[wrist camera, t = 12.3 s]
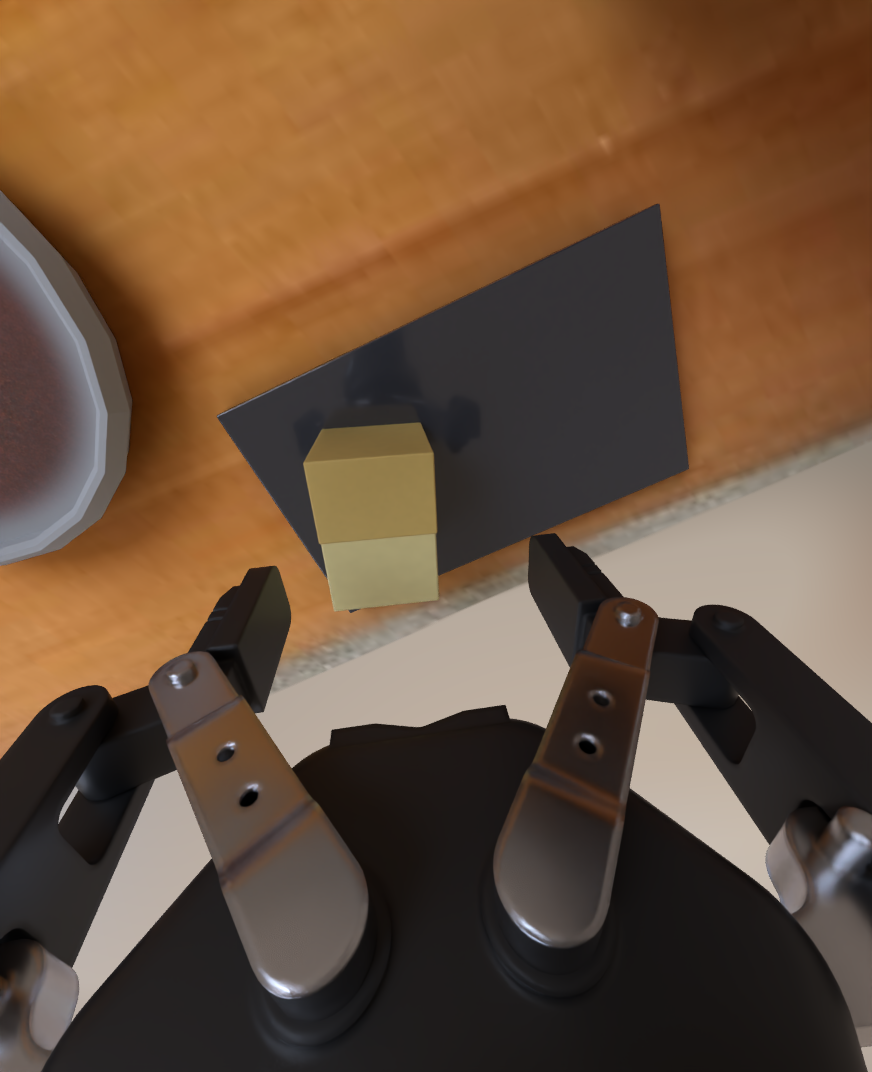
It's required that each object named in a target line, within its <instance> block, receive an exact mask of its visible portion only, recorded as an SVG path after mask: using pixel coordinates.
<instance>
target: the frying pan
mask: <svg viewBox="0 0 872 1072" xmlns="http://www.w3.org/2000/svg"><path fill="white" fill-rule="evenodd" d="M131 412H132V397H131V394H130V390H129V386H128V383H127V379H126V375H125V372H124V368H123V364H122V360H121V357H120V353H119V349H118V346H117V342H116V339H115V337H114V336H113V334H112V332H111V330H110V329H109V327H108V325H107V323H106V322H105V320H104V318H103V317H102V315H101V313H100V311H99V310H98V308H97V306H96V305H95V303H94V301H93V299H92V298H91V296H90V294H89V293H88V291H87V289H86V287H85V286H84V284H83V282H82V281H81V279H80V277H79V275H78V274H77V272H76V271H75V270H74V269H73V268H72V267H71V266H70V265H69V263H68V262H67V261H66V260H65V259H64V258H63V257H62V256H61V255H60V254H59V253H58V252H57V250H56V249H55V248H54V247H53V246H52V245H51V244H50V243H49V242H48V241H47V240H46V239H45V238H44V236H43V235H42V234H41V233H40V232H39V231H38V230H37V229H36V228H35V227H34V226H33V225H32V224H31V222H30V221H29V220H28V219H27V218H26V217H25V216H24V215H23V214H22V213H21V212H20V211H19V210H18V208H17V207H16V206H15V205H14V204H13V203H12V202H11V201H10V200H9V199H8V198H7V197H6V196H5V195H4V194H3V193H2V192H1V191H0V565H7V564H11V563H14V562H18V561H21V560H25V559H28V558H31V557H35V556H38V555H42V554H45V553H49V552H52V551H56V550H59V549H61V548H63V547H64V546H65V545H67V544H68V543H69V542H70V541H72V540H73V539H74V538H76V537H77V536H78V535H80V534H81V533H82V532H84V531H85V530H86V529H88V528H89V527H90V526H91V525H93V524H94V523H95V522H97V521H98V520H99V519H101V518H102V516H103V514H104V512H105V510H106V508H107V507H108V505H109V503H110V501H111V499H112V497H113V495H114V493H115V491H116V490H117V488H118V486H119V484H120V482H121V480H122V478H123V476H124V475H125V473H126V462H127V454H128V452H129V441H130V427H131Z"/></svg>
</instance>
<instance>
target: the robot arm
mask: <svg viewBox="0 0 872 1072" xmlns="http://www.w3.org/2000/svg"><path fill="white" fill-rule="evenodd" d="M528 583H529V588H530V592H531V595H532V597H533V599H534V601H535V602H536V604H537V606H538V608H539V610H540V612H541V614H542V616H543V617H544V619H545V621H546V623H547V625H548V627H549V629H550V631H551V633H552V635H553V636H554V638H555V640H556V642H557V644H558V646H559V648H560V649H561V651H562V653H563V655H564V657H565V659H566V661H567V663H568V665H569V667H570V670H569V672H568V675H567V677H566V680H565V682H564V685H563V687H562V690H561V692H560V695H559V698H558V700H557V702H556V705H555V708H554V710H553V713H552V715H551V718H550V720H549V723H548V725H547V728H546V729H545V728H543V727H541V726H538V725H536V724H533V723H530V722H527V721H522V720H517V719H510V718H509V715H508V712H507V709H506V706H505V705H501V706H494V707H487V708H480V709H473V710H466V711H462V712H460V713H457V714H454V715H452V716H449V717H447V718H444V719H442V720H439V721H436V722H434V723H431V724H429V725H426V726H423V727H407V726H396V725H385V724H369V725H362V726H355V727H348V728H341V729H334V730H332V731H331V739H330V745H329V746H326V747H324V748H322V749H320V750H318V751H316V752H314V753H312V754H311V755H309V756H308V757H306V758H305V759H303V760H302V761H300V762H299V763H298V764H297V765H295V766H294V767H293V768H291V767H290V765H289V764H288V762H287V761H286V760H285V758H284V756H283V755H282V754H281V752H280V751H279V749H278V747H277V746H276V745H275V743H274V742H273V740H272V739H271V737H270V736H269V734H268V733H267V731H266V730H265V728H264V727H263V725H262V724H261V722H260V721H259V719H258V718H257V716H256V715H255V713H260V712H264V709H265V706H266V703H267V699H268V696H269V693H270V690H271V687H272V683H273V680H274V677H275V674H276V670H277V667H278V664H279V661H280V657H281V654H282V651H283V647H284V644H285V641H286V638H287V634H288V631H289V628H290V624H291V610H290V605H289V602H288V598H287V595H286V592H285V588H284V585H283V582H282V579H281V575H280V572H279V570H278V568H277V567H276V566H267V567H259V568H251V569H249V570H248V572H247V574H246V575H245V577H244V579H243V581H242V583H241V585H240V586H234V587H232V588H231V589H230V590H229V591H227V592H226V593H225V594H224V595H223V596H222V597H220V599H219V601H218V602H217V604H216V606H215V607H214V609H213V612H211V614H210V616H209V618H208V622H206V623H205V624H204V626H203V628H202V629H201V631H200V633H199V635H198V636H197V638H196V640H195V641H194V643H193V645H192V647H191V648H190V650H189V652H188V653H186V654H183V655H180V656H178V657H176V658H174V659H172V660H170V661H168V662H167V663H165V664H164V665H163V666H162V667H160V668H159V669H158V670H157V671H156V672H155V673H154V675H153V676H152V678H151V679H150V682H149V685H148V686H146V687H143V688H140V689H137V690H134V691H131V692H128V693H126V694H123V695H120V696H117V697H114V698H112V697H111V695H110V694H109V692H108V691H107V690H106V688H104V687H102V686H98V685H92V686H86V687H81V688H78V689H75V690H73V691H70V692H68V693H66V694H64V695H62V696H60V697H59V698H57V699H55V700H54V701H52V702H51V703H49V704H48V705H47V706H46V707H44V708H43V709H42V710H41V711H40V712H39V713H38V714H37V715H36V716H35V717H34V719H33V720H32V721H31V722H30V724H29V725H28V726H27V727H26V729H25V730H24V731H23V732H22V733H21V735H20V736H19V737H18V738H17V740H16V741H15V742H14V743H13V745H12V746H11V747H10V748H9V750H8V751H7V752H6V753H5V754H4V756H3V757H2V758H1V759H0V1072H868V1071H867V1068H866V1065H865V1061H864V1058H863V1054H862V1051H861V1047H867V1046H872V723H871V722H870V721H869V720H868V719H866V718H865V717H864V716H863V715H862V714H861V713H860V712H859V711H857V710H856V709H855V708H854V707H853V706H852V705H851V704H849V703H848V702H847V701H846V700H845V699H844V698H843V697H842V696H841V695H839V694H838V693H837V692H836V691H835V690H834V689H832V687H830V686H829V685H828V684H827V683H826V682H825V681H823V679H821V678H820V677H819V676H818V675H817V674H816V673H815V672H813V671H812V670H811V669H810V668H809V667H808V666H807V665H806V664H805V663H803V662H802V661H801V660H800V659H799V658H798V657H797V656H796V655H794V654H793V653H792V652H791V651H790V650H789V649H788V648H787V647H785V646H784V645H783V644H782V643H781V642H780V641H779V640H778V639H776V638H775V637H774V636H773V635H772V634H771V633H769V631H767V630H766V629H765V628H764V627H763V626H762V625H760V624H759V623H758V622H757V621H756V620H755V619H753V618H752V617H751V616H749V615H748V614H746V613H744V612H742V611H739V610H737V609H734V608H731V607H727V606H722V605H705V606H701V607H699V608H697V609H696V611H695V612H694V615H693V619H692V621H689V620H678V619H668V618H660V617H658V615H657V614H656V612H655V611H654V610H653V609H652V608H651V607H650V606H648V605H647V604H645V603H643V602H640V601H638V600H635V599H631V598H626V597H623V596H622V594H621V593H620V592H619V591H618V590H617V589H616V588H615V586H614V585H613V584H612V583H611V582H610V581H609V579H608V578H607V577H606V576H605V575H604V574H603V573H602V572H601V570H600V569H599V568H598V567H597V565H595V563H594V562H593V561H592V559H591V558H590V557H589V556H588V555H587V554H586V553H584V552H583V551H581V550H579V549H577V548H575V547H574V546H571V547H566V546H565V545H564V543H563V542H562V541H561V539H560V538H559V537H558V536H557V535H556V534H555V533H553V534H544V535H536V536H531V538H530V544H529V566H528ZM738 695H740V696H741V697H742V698H743V700H744V701H745V702H746V703H747V704H748V706H749V707H750V708H751V710H752V711H751V710H750V709H749V707H748V706H747V705H746V704H745V703H744V702H743V701H742V699H741V698H740V697H739V696H738ZM646 699H647V700H654V701H660V702H668V703H674V704H675V705H676V707H677V708H678V710H679V711H680V713H681V714H682V716H683V717H684V718H685V720H686V722H687V723H688V725H689V726H690V728H691V729H692V731H693V732H694V734H695V735H696V736H697V738H698V739H699V741H700V742H701V744H702V745H703V747H704V748H705V750H706V751H707V753H708V754H709V756H710V757H711V759H712V760H713V762H714V763H715V765H716V766H717V768H718V769H719V771H720V772H721V773H722V775H723V777H724V778H725V779H726V781H727V782H728V784H729V785H730V787H731V788H732V790H733V791H734V793H735V794H736V796H737V797H738V798H739V800H740V802H741V803H742V805H743V806H744V808H745V809H746V811H747V812H748V814H749V815H750V817H751V818H752V820H753V821H754V823H755V824H756V825H757V827H758V828H759V830H760V831H761V833H762V834H763V836H764V837H765V839H766V840H767V842H768V843H769V845H770V846H769V848H768V850H767V853H766V867H767V871H768V874H769V877H770V879H771V881H772V883H773V885H774V887H775V889H776V891H777V893H778V895H779V898H780V902H781V903H780V902H779V901H778V900H777V899H776V898H775V897H774V896H773V895H772V894H771V893H770V892H769V891H768V890H766V889H765V888H764V887H763V886H761V885H760V884H759V883H758V882H756V881H755V880H754V879H753V878H751V877H750V876H749V875H747V874H746V873H745V872H743V871H742V870H741V869H739V868H738V867H736V866H735V865H734V864H732V863H731V862H730V861H728V860H727V859H726V858H724V857H723V856H721V855H720V854H719V853H717V852H716V851H715V850H713V849H712V848H710V847H709V846H708V845H706V844H705V843H704V842H702V841H701V840H700V839H698V838H697V837H695V836H694V835H693V834H691V833H690V832H689V831H687V830H686V829H684V828H683V827H682V826H681V825H679V824H678V823H676V822H675V821H674V820H672V819H671V818H670V817H668V816H667V815H666V814H664V813H663V812H661V811H660V810H659V809H657V808H656V807H655V806H653V805H652V804H651V803H649V802H648V801H647V800H645V799H644V798H643V797H641V796H640V795H638V794H637V793H636V792H634V791H633V790H632V789H630V781H631V777H632V771H633V766H634V759H635V754H636V749H637V743H638V737H639V733H640V727H641V722H642V716H643V711H644V705H645V700H646ZM175 770H177V771H178V773H179V776H180V779H181V781H182V784H183V786H184V789H185V791H186V794H187V796H188V798H189V801H190V804H191V806H192V809H193V811H194V814H195V816H196V819H197V821H198V824H199V826H200V829H201V832H202V834H203V837H204V839H205V842H206V844H207V847H208V849H209V852H210V854H211V857H212V859H211V860H210V861H209V862H208V863H207V864H206V866H205V867H204V868H203V869H202V870H201V871H200V873H199V874H198V875H197V876H196V877H195V878H194V879H193V881H192V882H191V883H190V884H189V885H188V886H187V887H186V889H185V890H184V891H183V892H182V893H181V895H180V896H179V897H178V898H177V899H176V900H175V901H174V902H173V904H172V905H171V906H170V907H169V908H168V910H166V912H165V913H164V914H163V915H162V916H161V918H160V919H159V920H158V921H157V922H156V923H155V924H154V925H153V927H152V928H151V929H150V930H149V931H148V932H147V934H146V935H145V936H144V937H143V938H142V939H141V941H140V942H139V943H138V944H137V945H136V946H135V947H134V948H133V950H132V951H131V952H130V953H129V954H128V955H127V957H126V958H125V959H124V960H123V961H122V962H121V963H120V965H119V966H118V967H117V968H116V969H115V970H114V972H113V973H112V974H111V975H110V976H109V977H108V978H107V980H106V981H105V982H104V983H103V984H102V986H100V988H99V989H98V990H97V991H96V992H95V993H94V994H93V996H92V997H91V998H90V999H89V1000H88V1002H87V1003H86V1004H85V1005H84V1007H83V1008H82V1009H81V1010H80V1011H79V1013H78V1014H77V1015H76V1017H75V1018H74V1020H73V1021H72V1017H73V1014H74V1011H75V1007H76V1004H77V1000H78V995H79V981H78V976H77V974H76V972H75V971H74V970H73V969H72V967H73V965H74V962H75V960H76V958H77V956H78V953H79V951H80V949H81V947H82V944H83V942H84V940H85V937H86V935H87V933H88V931H89V928H90V926H91V924H92V921H93V919H94V917H95V915H96V912H97V910H98V907H99V906H100V903H101V901H102V899H103V896H104V894H105V892H106V890H107V887H108V885H109V883H110V880H111V878H112V876H113V874H114V871H115V869H116V867H117V864H118V862H119V860H120V858H121V855H122V853H123V851H124V848H125V846H126V844H127V842H128V839H129V837H130V835H131V832H132V830H133V828H134V826H135V823H136V821H137V819H138V816H139V814H140V812H141V809H142V807H143V805H144V803H145V801H146V798H147V796H148V794H149V791H150V789H151V787H152V785H153V782H154V780H155V779H156V778H158V777H160V776H163V775H165V774H168V773H170V772H173V771H175ZM75 786H76V787H77V788H78V792H77V794H76V795H75V797H74V799H73V801H72V802H71V804H70V805H69V807H68V809H67V811H66V812H65V814H64V816H63V817H62V819H61V821H60V822H59V824H58V820H59V815H60V812H61V810H62V807H63V805H64V804H65V802H66V800H67V799H68V797H69V795H70V794H71V792H72V790H73V789H74V787H75Z"/></svg>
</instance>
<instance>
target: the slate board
mask: <svg viewBox="0 0 872 1072" xmlns="http://www.w3.org/2000/svg"><path fill="white" fill-rule="evenodd" d="M217 418H218V419H219V421H220V422H221V424H222V425H223V427H224V428H225V430H226V431H227V433H228V434H229V436H230V437H231V439H232V440H233V441H234V443H235V444H236V446H237V447H238V449H239V450H240V452H241V453H242V455H243V456H244V458H245V459H246V461H247V462H248V464H249V465H250V466H251V468H252V469H253V471H254V472H255V474H256V475H257V477H258V478H259V480H260V481H261V483H262V484H263V486H264V487H265V488H266V490H267V491H268V493H269V494H270V496H271V497H272V499H273V500H274V502H275V503H276V505H277V506H278V508H279V509H280V511H281V512H282V513H283V515H284V516H285V518H286V519H287V521H288V522H289V524H290V525H291V527H292V528H293V530H294V531H295V533H296V534H297V536H298V537H299V538H300V540H301V541H302V543H303V544H304V546H305V547H306V549H307V550H308V552H309V553H310V555H311V556H312V558H313V559H314V560H315V562H316V563H317V565H318V566H319V568H320V569H321V571H322V572H323V574H324V575H325V577H326V578H327V572H326V567H325V562H324V557H323V552H322V547H321V544H319V541H318V536H317V531H316V526H315V521H314V516H313V511H312V506H311V500H310V495H309V490H308V485H307V480H306V475H305V470H304V465H303V463H304V461H305V459H306V457H307V455H308V454H309V452H310V450H311V448H312V446H313V444H314V443H315V441H316V439H317V437H318V435H319V433H320V432H321V430H322V429H333V428H347V427H362V426H376V425H391V424H405V423H421V425H422V427H423V430H424V432H425V434H426V437H427V439H428V441H429V444H430V446H431V448H432V450H433V453H434V465H435V487H436V509H437V533H436V541H437V562H438V576H439V575H441V574H444V573H446V572H448V571H451V570H453V569H455V568H458V567H460V566H462V565H465V564H467V563H469V562H472V561H474V560H476V559H479V558H481V557H483V556H486V555H488V554H490V553H493V552H495V551H497V550H500V549H502V548H505V547H507V546H509V545H512V544H514V543H516V542H519V541H521V540H523V539H526V538H528V537H530V536H533V535H535V534H537V533H540V532H542V531H544V530H547V529H549V528H551V527H554V526H556V525H558V524H561V523H563V522H565V521H568V520H570V519H573V518H575V517H577V516H580V515H582V514H584V513H587V512H589V511H591V510H594V509H596V508H598V507H601V506H603V505H605V504H608V503H610V502H612V501H615V500H617V499H619V498H622V497H624V496H626V495H629V494H631V493H634V492H636V491H638V490H641V489H643V488H645V487H648V486H650V485H652V484H655V483H657V482H659V481H662V480H664V479H666V478H669V477H671V476H673V475H676V474H678V473H680V472H683V471H685V470H687V469H689V464H688V455H687V446H686V437H685V428H684V419H683V410H682V401H681V392H680V383H679V374H678V365H677V356H676V347H675V338H674V329H673V320H672V312H671V303H670V294H669V285H668V276H667V267H666V258H665V249H664V240H663V231H662V222H661V213H660V205H659V204H655V205H653V206H651V207H648V208H646V209H644V210H642V211H639V212H637V213H635V214H633V215H631V216H629V217H627V218H625V219H623V220H621V221H619V222H617V223H614V224H612V225H610V226H608V227H606V228H604V229H602V230H600V231H598V232H596V233H594V234H592V235H590V236H587V237H585V238H583V239H581V240H579V241H577V242H575V243H573V244H571V245H569V246H567V247H565V248H563V249H560V250H558V251H556V252H554V253H552V254H550V255H548V256H546V257H544V258H542V259H540V260H538V261H536V262H533V263H531V264H529V265H527V266H525V267H523V268H521V269H519V270H517V271H515V272H513V273H511V274H508V275H506V276H504V277H502V278H500V279H498V280H496V281H494V282H492V283H490V284H488V285H486V286H484V287H481V288H479V289H477V290H475V291H473V292H471V293H469V294H467V295H465V296H463V297H461V298H459V299H457V300H454V301H452V302H450V303H448V304H446V305H444V306H442V307H440V308H438V309H436V310H434V311H432V312H429V313H427V314H425V315H423V316H421V317H419V318H417V319H415V320H413V321H411V322H409V323H407V324H405V325H402V326H400V327H398V328H396V329H394V330H392V331H390V332H388V333H386V334H384V335H382V336H380V337H378V338H375V339H373V340H371V341H369V342H367V343H365V344H363V345H361V346H359V347H357V348H355V349H353V350H350V351H348V352H346V353H344V354H342V355H340V356H338V357H336V358H334V359H332V360H330V361H328V362H326V363H323V364H321V365H319V366H317V367H315V368H313V369H311V370H309V371H307V372H305V373H303V374H301V375H299V376H296V377H294V378H292V379H290V380H288V381H286V382H284V383H282V384H280V385H278V386H276V387H274V388H271V389H269V390H267V391H265V392H263V393H261V394H259V395H257V396H255V397H253V398H251V399H249V400H247V401H244V402H242V403H240V404H238V405H236V406H234V407H232V408H230V409H228V410H226V411H224V412H222V413H220V414H219V415H217ZM327 580H328V578H327ZM357 610H359V609H352V610H349V612H350V613H352V612H354V611H357Z"/></svg>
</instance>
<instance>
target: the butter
mask: <svg viewBox="0 0 872 1072" xmlns="http://www.w3.org/2000/svg"><path fill="white" fill-rule="evenodd" d="M303 465H304V470H305V475H306V480H307V485H308V490H309V495H310V500H311V506H312V511H313V516H314V521H315V526H316V531H317V536H318V541H319V544H321V547H322V552H323V557H324V562H325V567H326V572H327V578H328V583H329V588H330V593H331V598H332V603H333V608H334V611H343V610H352V609H361V608H371V607H380V606H389V605H398V604H407V603H416V602H425V601H434V600H439V583H438V562H437V541H436V533H437V509H436V487H435V465H434V453H433V450H432V448H431V446H430V444H429V441H428V439H427V437H426V434H425V432H424V430H423V427H422V425H421V423H405V424H391V425H376V426H362V427H347V428H333V429H322V430H321V432H320V433H319V435H318V437H317V439H316V441H315V443H314V444H313V446H312V448H311V450H310V452H309V454H308V455H307V457H306V459H305V461H304V463H303Z"/></svg>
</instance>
